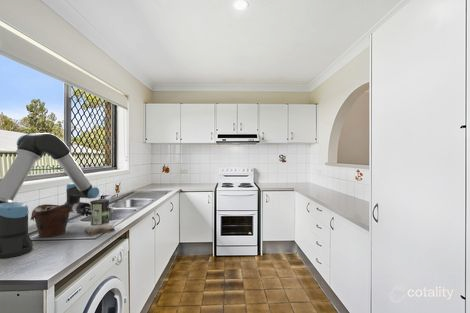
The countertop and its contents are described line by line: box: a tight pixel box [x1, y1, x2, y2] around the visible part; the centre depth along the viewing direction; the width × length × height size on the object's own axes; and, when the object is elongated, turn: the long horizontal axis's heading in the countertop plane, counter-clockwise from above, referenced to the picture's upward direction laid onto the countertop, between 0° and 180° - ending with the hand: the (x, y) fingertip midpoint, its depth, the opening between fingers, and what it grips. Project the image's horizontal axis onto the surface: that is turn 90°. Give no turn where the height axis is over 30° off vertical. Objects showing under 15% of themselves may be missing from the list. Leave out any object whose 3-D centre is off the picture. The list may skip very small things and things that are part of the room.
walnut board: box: [84, 224, 116, 236], centre depth 154 cm, size 14×11×2 cm
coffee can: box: [89, 199, 110, 227], centre depth 154 cm, size 10×10×14 cm
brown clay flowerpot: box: [29, 203, 72, 238], centre depth 149 cm, size 18×20×18 cm
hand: (104, 211), depth 152 cm, fingers closed on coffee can, 10 cm apart
